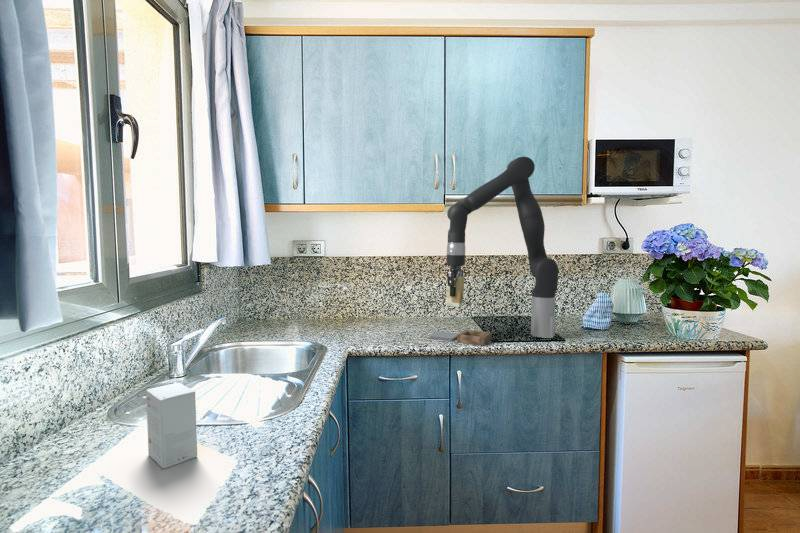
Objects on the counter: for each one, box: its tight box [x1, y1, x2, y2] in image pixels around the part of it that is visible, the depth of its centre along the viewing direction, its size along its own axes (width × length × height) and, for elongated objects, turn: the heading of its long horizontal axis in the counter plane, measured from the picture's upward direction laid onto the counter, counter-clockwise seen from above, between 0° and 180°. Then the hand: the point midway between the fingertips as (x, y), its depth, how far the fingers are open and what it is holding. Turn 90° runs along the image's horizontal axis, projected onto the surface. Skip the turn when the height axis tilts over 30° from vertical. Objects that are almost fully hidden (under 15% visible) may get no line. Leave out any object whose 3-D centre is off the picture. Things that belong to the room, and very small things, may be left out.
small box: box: [145, 381, 198, 470], centre depth 84 cm, size 8×6×13 cm
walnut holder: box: [456, 329, 492, 347], centre depth 175 cm, size 11×11×3 cm
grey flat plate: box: [428, 330, 460, 342], centre depth 182 cm, size 10×10×1 cm
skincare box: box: [445, 276, 465, 308], centre depth 178 cm, size 6×4×12 cm
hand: (454, 295), depth 178 cm, fingers closed on skincare box, 4 cm apart
